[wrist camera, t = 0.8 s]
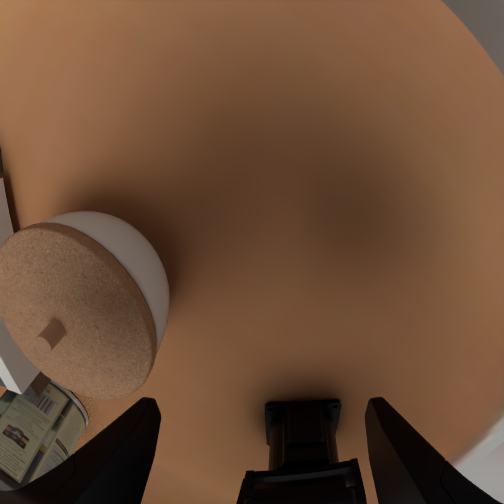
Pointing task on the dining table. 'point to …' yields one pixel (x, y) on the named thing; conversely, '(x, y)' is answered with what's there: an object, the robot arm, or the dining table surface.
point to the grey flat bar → (3, 346)
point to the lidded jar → (85, 301)
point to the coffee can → (37, 433)
